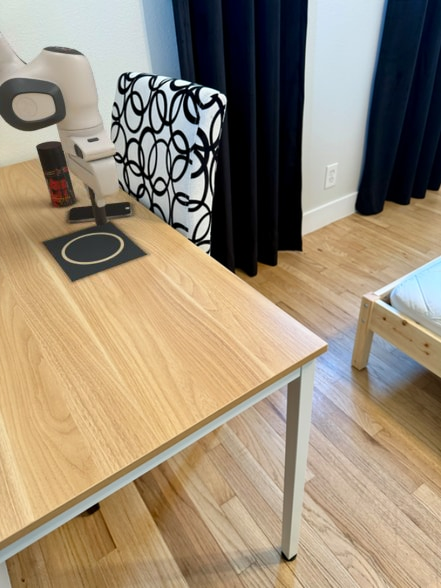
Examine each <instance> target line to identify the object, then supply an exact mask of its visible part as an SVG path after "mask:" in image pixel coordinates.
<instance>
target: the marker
mask: <svg viewBox="0 0 441 588" xmlns="http://www.w3.org/2000/svg"><path fill="white" fill-rule="evenodd" d="M88 190H89V195H90V199H89V200H90V202H91V206H92V209H93V213H94V218H95V221H94V223H95V226H96V225H99V226H101V225H105V224H107V222H108V219H107V218H106V213H105V207H104V206H103V207H98V206H97V205H96V204H95V200H94V198H95V193H94V191H93V190H92V189H91V188H90V187H89V186H88Z"/></svg>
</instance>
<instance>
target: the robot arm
mask: <svg viewBox="0 0 441 588" xmlns="http://www.w3.org/2000/svg"><path fill="white" fill-rule="evenodd" d="M0 117H1V119H3V121H4V122H5V123H7V124H8V125H9V126H11V127H12V128H14V129H16V130H19V131H20V132H21V131H23V132H35V131H38V130H39V131H40V130H42V129H45V128H48V127H51V126H54V125H55V126H56V129H57V133H58V136H59V140H60V141H59V142H61V145H62V149H63V151H64V154H65V158H66V162H67V166H68V170H69V172H70V173H71V174H73V175H74V176H75V177H76V178H78V179H79V180H80V181H81V182H82V184H83V187H84V189H85V191H86V195H87V197H88V199H89V200H90V195H89V190H88V186H89V187H90V188H91V189H92V190H93V191H94V193H95V198H94V200H95V204H96V205H97V206H98V207H103V206H105V204H107V203H106V199H107V198H111V197H113V196H116V195H118V194H119V191H120V183H119V173H118V168H117V163H116V160H115V157H114V156H115V155H116V154H117V151H116V150H117V149H116V146H115V143H114V142H113V141H112V140H111V138H110V137H109V135H108V133H107V131H106V129H105V126H104V120H103V117H102V115H101V113H100V110H99V95H98V88H97V85H96V80H95V75H94V73H93V69H92V66H91V63H90V61H89V59H88V57H87V56H86V55H85V54H84V53H83V52H81V51H79V50H77V49H75V48H71V47H66V46H56V45H55V46H52V45H51V46H50V45H49V46H45V47H43V48H42V49H41V51H40V53H39V54H37V56H35V57H34V58H33V59H32V60H30V62H28V63H27V62H25V61H24V60H23V59H22V58H20V57H19V55H18V54H17V53H16V51H14V49H13V47H11V45H10V44H9V42H8V41H7V39H6V37H5V36H4V35H3V33H2V32H1V31H0Z"/></svg>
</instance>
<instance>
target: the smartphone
mask: <svg viewBox="0 0 441 588" xmlns="http://www.w3.org/2000/svg"><path fill="white" fill-rule="evenodd" d="M104 207H105V213H106V218H107V220H114V219H124V218H129V217H130V218H131V216H132V215H133V211H132V203H131V202H129V201H122V202H114V203H113V202H111V203H106V204H105V206H104ZM67 221H68V223H70V224H77V223H86V222H95V218H94V213H93V209H92V205H86V206H85V205H84V206H83V205H82V206H76V207H71V208H70V209H69V212H68V217H67Z"/></svg>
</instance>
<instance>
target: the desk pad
mask: <svg viewBox="0 0 441 588" xmlns="http://www.w3.org/2000/svg"><path fill="white" fill-rule="evenodd" d="M42 244H43V245H44V247H45V248H46V249H47V250H48V252H49V253H50V255H51V256H52V257H53V258H54V259H55V262H56V263H57V264H59V266H60V267H61V269H62V270H63V271H64V272H65V274H66V275H67V277H68V278H69V280H70V281H71V282H73V283H74V282H76V281H79V280H81V279H82V280H83V279H84V278H87V277H90V276H93V275H96V274H98V273H100V272H101V273H102V272H103V271H107V270H109V269H111V268H114V267H118V266H120V265H123V264H125V263H128V262H130V261H134V260H136V259H139V258H142V257H144V256H147V255H148V253H146V251H144V250H143V249H142V248H141V247H140V246H139V245H138V244H136V243H135V242H134V241H133V240H132V239H131V238H130V237H128V236H127V234H125V233H124V232H123V231H122V230H121V229H119V228H118V227H117V226H116V225H115V224H114V223H113V222H112V221H110V220H109V221H107V224H105V225H101V226H99V225H96V224H95V225H93V226H89V227H87V228H83V229H80V230H77V231H73V232H70V233H67V234H64V235H60V236H58V237H54V238H51V239H48V240H45V241H42Z"/></svg>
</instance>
